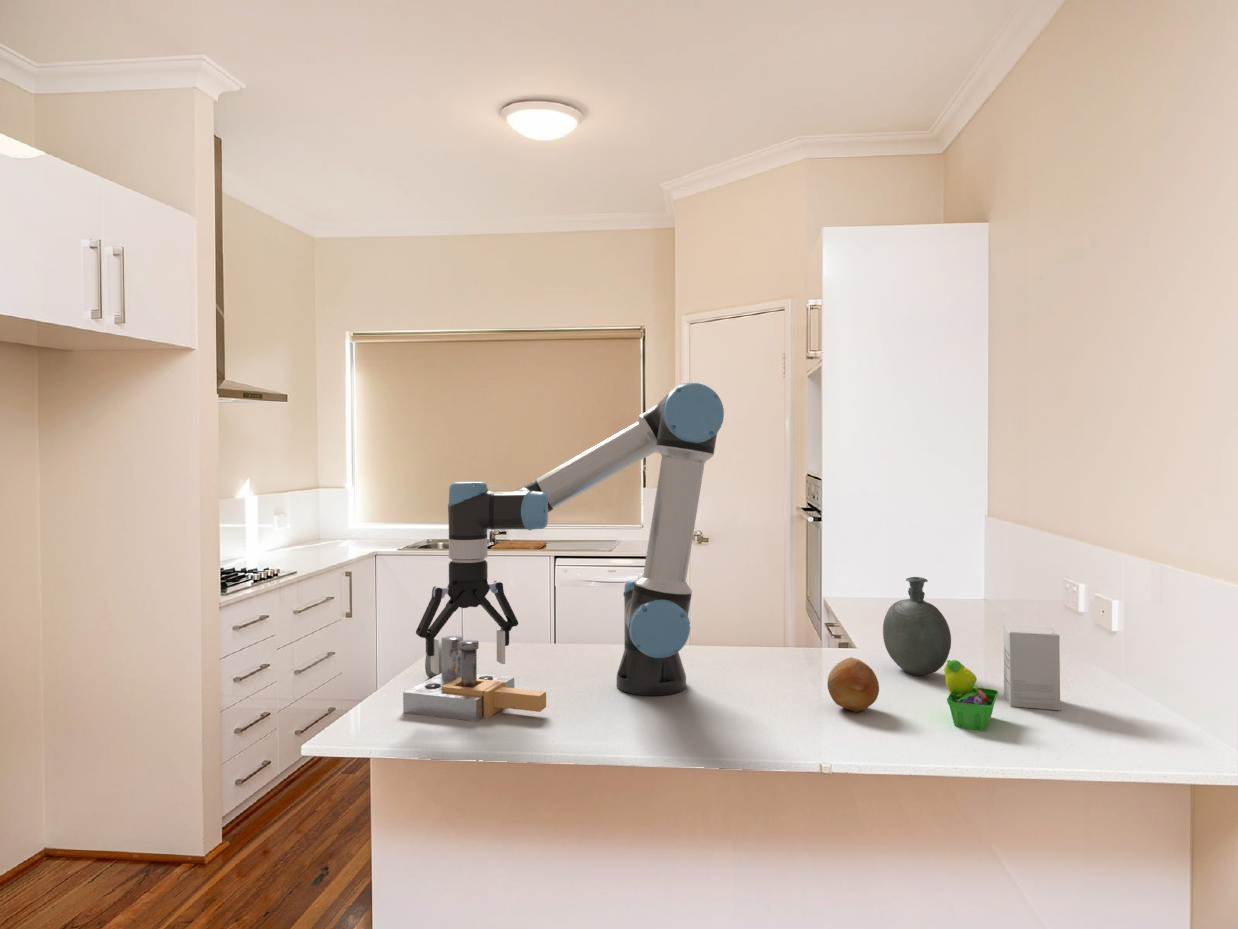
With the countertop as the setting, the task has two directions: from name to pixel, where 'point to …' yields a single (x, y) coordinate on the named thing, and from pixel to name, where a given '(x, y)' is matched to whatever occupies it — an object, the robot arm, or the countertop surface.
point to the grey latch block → (444, 704)
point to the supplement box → (1032, 666)
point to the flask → (916, 632)
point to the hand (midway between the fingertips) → (468, 667)
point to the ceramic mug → (428, 663)
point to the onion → (853, 685)
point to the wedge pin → (469, 662)
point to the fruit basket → (968, 698)
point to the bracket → (500, 696)
